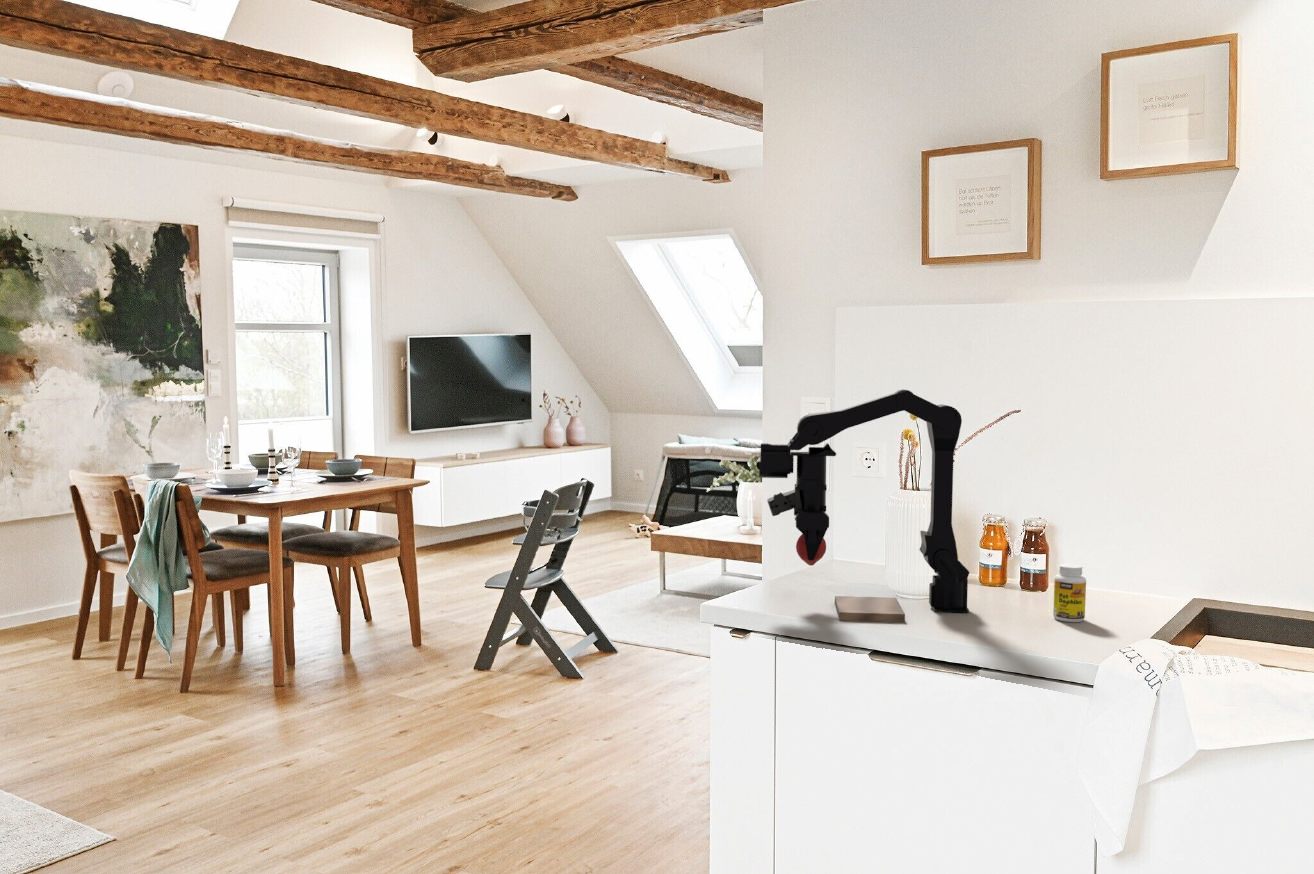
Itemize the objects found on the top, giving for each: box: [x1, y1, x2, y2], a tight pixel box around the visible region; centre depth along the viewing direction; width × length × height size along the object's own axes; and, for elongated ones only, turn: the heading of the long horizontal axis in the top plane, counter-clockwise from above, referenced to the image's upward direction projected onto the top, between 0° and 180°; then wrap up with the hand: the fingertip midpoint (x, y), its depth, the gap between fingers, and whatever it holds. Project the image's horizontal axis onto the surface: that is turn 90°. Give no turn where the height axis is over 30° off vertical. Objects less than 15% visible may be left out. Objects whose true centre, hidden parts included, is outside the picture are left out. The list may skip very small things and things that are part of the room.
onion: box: [795, 532, 827, 566], centre depth 213 cm, size 6×6×8 cm
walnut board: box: [834, 595, 906, 623], centre depth 207 cm, size 12×14×2 cm
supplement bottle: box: [1052, 563, 1087, 623], centre depth 202 cm, size 6×6×10 cm
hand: (810, 557), depth 213 cm, fingers closed on onion, 6 cm apart
